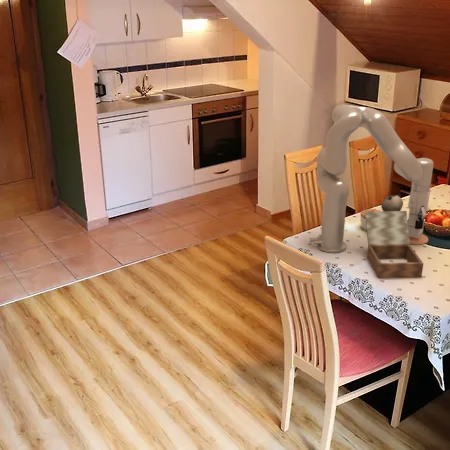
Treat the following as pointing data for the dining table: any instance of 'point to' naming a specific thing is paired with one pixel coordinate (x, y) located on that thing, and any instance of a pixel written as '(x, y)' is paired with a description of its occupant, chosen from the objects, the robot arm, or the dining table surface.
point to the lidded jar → (363, 216)
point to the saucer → (418, 240)
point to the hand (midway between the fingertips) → (415, 224)
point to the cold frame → (391, 245)
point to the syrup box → (413, 224)
